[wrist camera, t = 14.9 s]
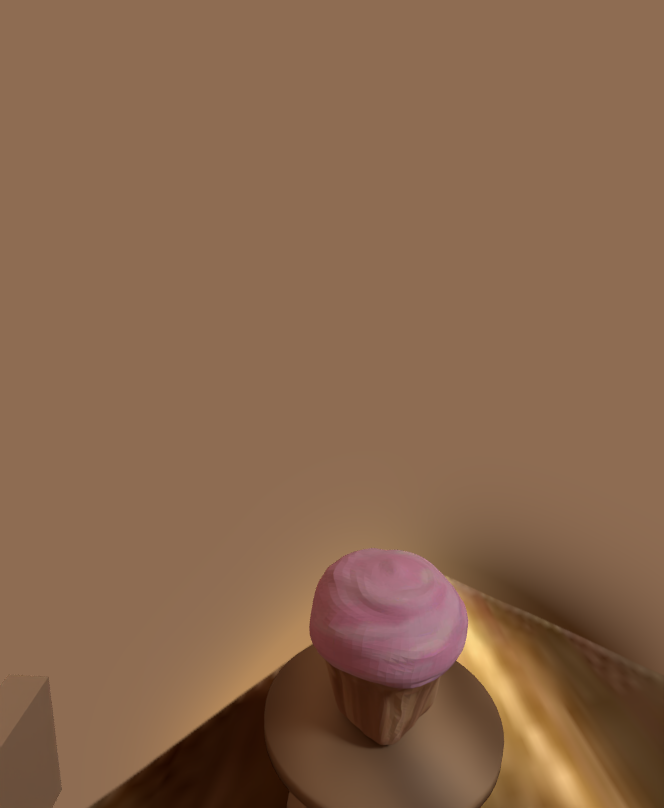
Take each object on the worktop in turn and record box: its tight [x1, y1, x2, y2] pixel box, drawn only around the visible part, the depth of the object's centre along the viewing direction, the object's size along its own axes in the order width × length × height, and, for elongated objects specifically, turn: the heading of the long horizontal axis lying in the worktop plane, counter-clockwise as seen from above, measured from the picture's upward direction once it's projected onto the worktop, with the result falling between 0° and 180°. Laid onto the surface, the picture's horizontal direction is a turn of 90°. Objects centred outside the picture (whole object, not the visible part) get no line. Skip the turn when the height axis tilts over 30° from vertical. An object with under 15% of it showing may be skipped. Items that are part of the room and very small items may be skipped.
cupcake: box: [310, 548, 468, 745], centre depth 33 cm, size 9×9×10 cm
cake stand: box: [264, 645, 504, 808], centre depth 36 cm, size 14×14×9 cm
